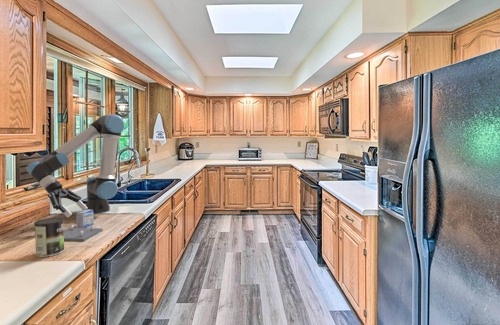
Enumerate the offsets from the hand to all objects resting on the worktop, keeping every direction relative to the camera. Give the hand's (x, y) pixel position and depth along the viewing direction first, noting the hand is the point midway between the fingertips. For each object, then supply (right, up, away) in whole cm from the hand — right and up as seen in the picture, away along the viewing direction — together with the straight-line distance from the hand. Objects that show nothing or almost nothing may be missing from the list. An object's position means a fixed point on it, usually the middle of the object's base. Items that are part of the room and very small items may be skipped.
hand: (78, 212), depth 161 cm
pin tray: (+7, -9, -14) cm, 18 cm away
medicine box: (+3, -8, +2) cm, 9 cm away
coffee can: (+9, -11, -36) cm, 38 cm away
